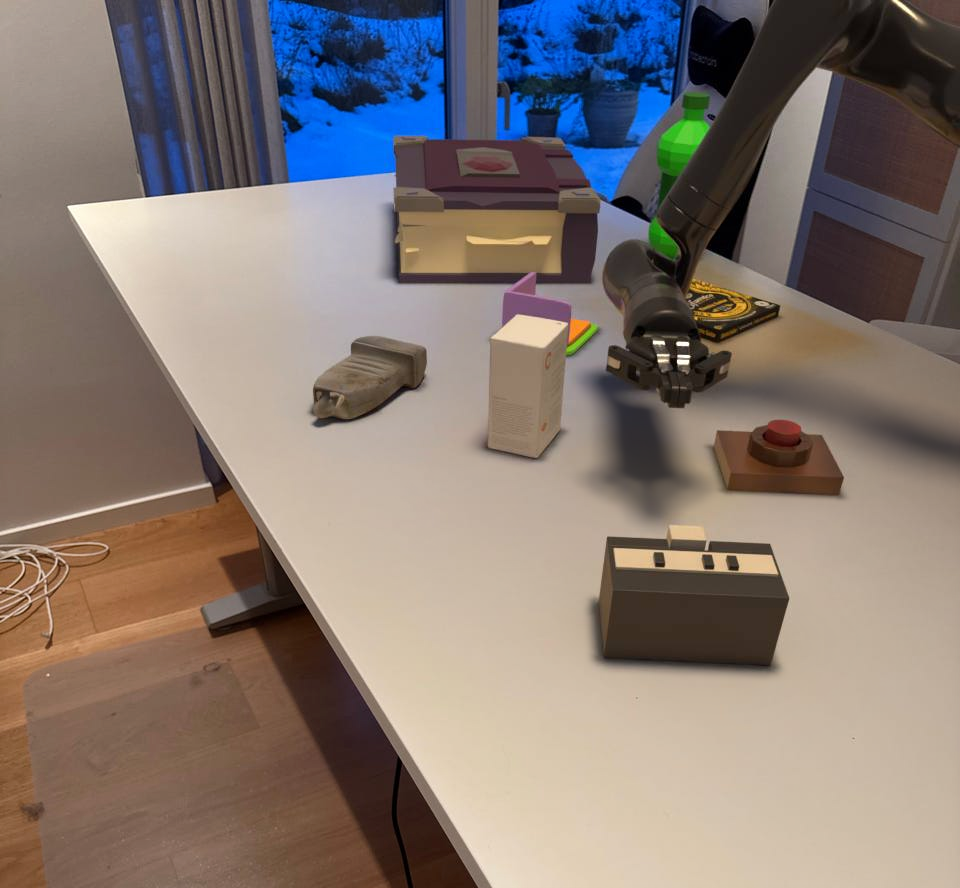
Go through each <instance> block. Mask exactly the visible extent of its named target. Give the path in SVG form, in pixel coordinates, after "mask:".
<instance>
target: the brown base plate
mask: <svg viewBox="0 0 960 888" xmlns="http://www.w3.org/2000/svg"><path fill="white" fill-rule="evenodd" d="M767 425H768V424H766V425H762V426H756V427H755V428H754V429H753V430H752V431H745V430H744V431H741V430H740V431H739V430H722V429H721V430H719V429H718V430H716V432H715V438H714V442H713V450H714V453H715V457H716V460H717V462H718V466H719V469H720V472H721V476H722V478H723V481H724V484H725V487H726V490H727V491H735V492H736V491H737V492H758V493H780V494H781V493H783V494H802V495H804V494H805V495H824V496H825V495H826V496H827V495H829V496H840V493H841V488H842V486H843V482H844V479H845V476H844V474H843V472H842V470H841V469H840V467H839V465H838V463H837V461H836V459H835V457H834V455H833V453H832V451H831V450H830V447H829V446H828V443H827V442H826V440H825V438H824V436H823V434H815V433H813V434H810V433H806V432H804V431H802V430H801V434H800V437H799V441H798V445H797V446H793V447H780V446H776V445H772V444H770V443H768V442H767V441H765V440H764V437H765V433H766V429H767Z"/></svg>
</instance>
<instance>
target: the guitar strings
mask: <svg viewBox="0 0 960 888" xmlns="http://www.w3.org/2000/svg"><path fill="white" fill-rule="evenodd" d="M685 299H686V301H687V302H688V304H689V306H690V308H691V311H692V314H693V316H694V319H695V322H696V325H697V327H698V330H699V333H700V338H701V339H702V338H703V339H704V340H707V341H712V342H714V343H717V344H718V343H720V342H723V341H725V340H727V339H730V338H732V337H735V336H737V335H739V334H741V333H744V332H746V331H748V330H749V331H750V330H751V329H753V328H756V327H758V326H761V325H762V324H765V323H767V322H770V321H772V320H774V319H776V318H778V317H779V314H780V310H781V304H777V303H775V302H772V301H768V300H764V299H761V298H758V297H755V296H751V295H748V294H745V293H742V292H738V291H735V290H733V289H732V290H731V289H729V288H726V287H722V286H718V285H716V284H712V283H709V282H706V281H703V280H699V279H696V278H693V279H692V282H691V285H690V288H689V290H688V293H687V296H686V298H685Z"/></svg>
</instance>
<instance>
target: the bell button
mask: <svg viewBox="0 0 960 888" xmlns="http://www.w3.org/2000/svg"><path fill="white" fill-rule="evenodd" d="M766 425H767V429H766V433H765V437H764V440H765V441H767V442H768V443H770V444H772V445H776V446H780V447H793V446H797V445H798V441H799V437H800V434H801V431H802V427H801V426H800V425H799V424H798V423H797V422H795V421H791V420H788V419H773V420H770V421H769V422H767V424H766Z"/></svg>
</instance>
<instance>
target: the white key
mask: <svg viewBox="0 0 960 888" xmlns="http://www.w3.org/2000/svg"><path fill="white" fill-rule="evenodd" d="M666 539H667V540H668V545H669V549H686V550H706V546H707V537H706V533H705V529H704V526H702V525H683V524H682V525H680V524H668V529H667V532H666Z"/></svg>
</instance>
